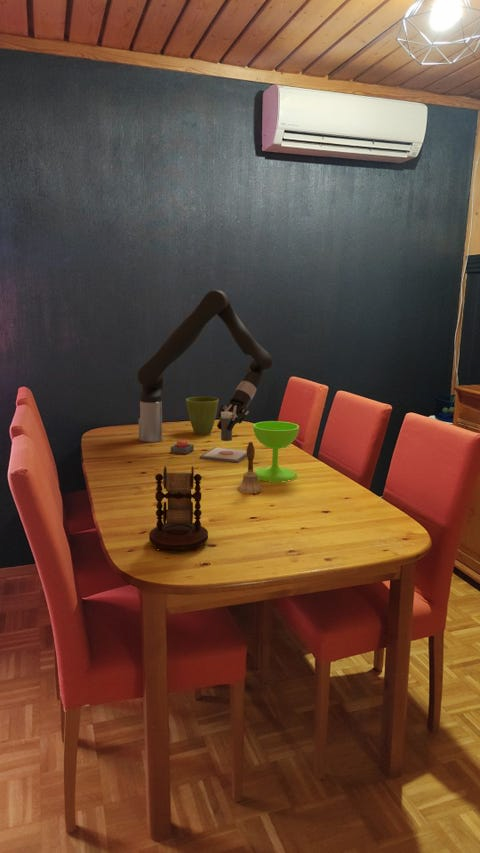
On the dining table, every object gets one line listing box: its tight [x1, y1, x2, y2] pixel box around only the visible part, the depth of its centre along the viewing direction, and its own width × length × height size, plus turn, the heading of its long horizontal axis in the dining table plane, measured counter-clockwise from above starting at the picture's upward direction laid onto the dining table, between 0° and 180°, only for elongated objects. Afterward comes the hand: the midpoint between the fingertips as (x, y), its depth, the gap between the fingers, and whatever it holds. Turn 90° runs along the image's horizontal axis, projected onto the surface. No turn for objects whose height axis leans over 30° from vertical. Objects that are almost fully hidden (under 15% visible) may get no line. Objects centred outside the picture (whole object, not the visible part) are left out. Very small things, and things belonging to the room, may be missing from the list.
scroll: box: [148, 465, 209, 551], centre depth 145 cm, size 15×15×20 cm
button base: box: [170, 443, 195, 456], centre depth 234 cm, size 7×7×2 cm
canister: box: [220, 411, 233, 442], centre depth 227 cm, size 4×4×11 cm
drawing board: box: [199, 446, 247, 464], centre depth 230 cm, size 16×16×1 cm
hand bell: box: [236, 441, 263, 494], centre depth 187 cm, size 8×8×16 cm
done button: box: [176, 440, 189, 448], centre depth 234 cm, size 4×4×2 cm
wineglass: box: [252, 420, 300, 483], centre depth 203 cm, size 16×16×18 cm
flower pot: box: [185, 396, 219, 436], centre depth 266 cm, size 15×15×16 cm
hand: (223, 428), depth 226 cm, fingers closed on canister, 4 cm apart
